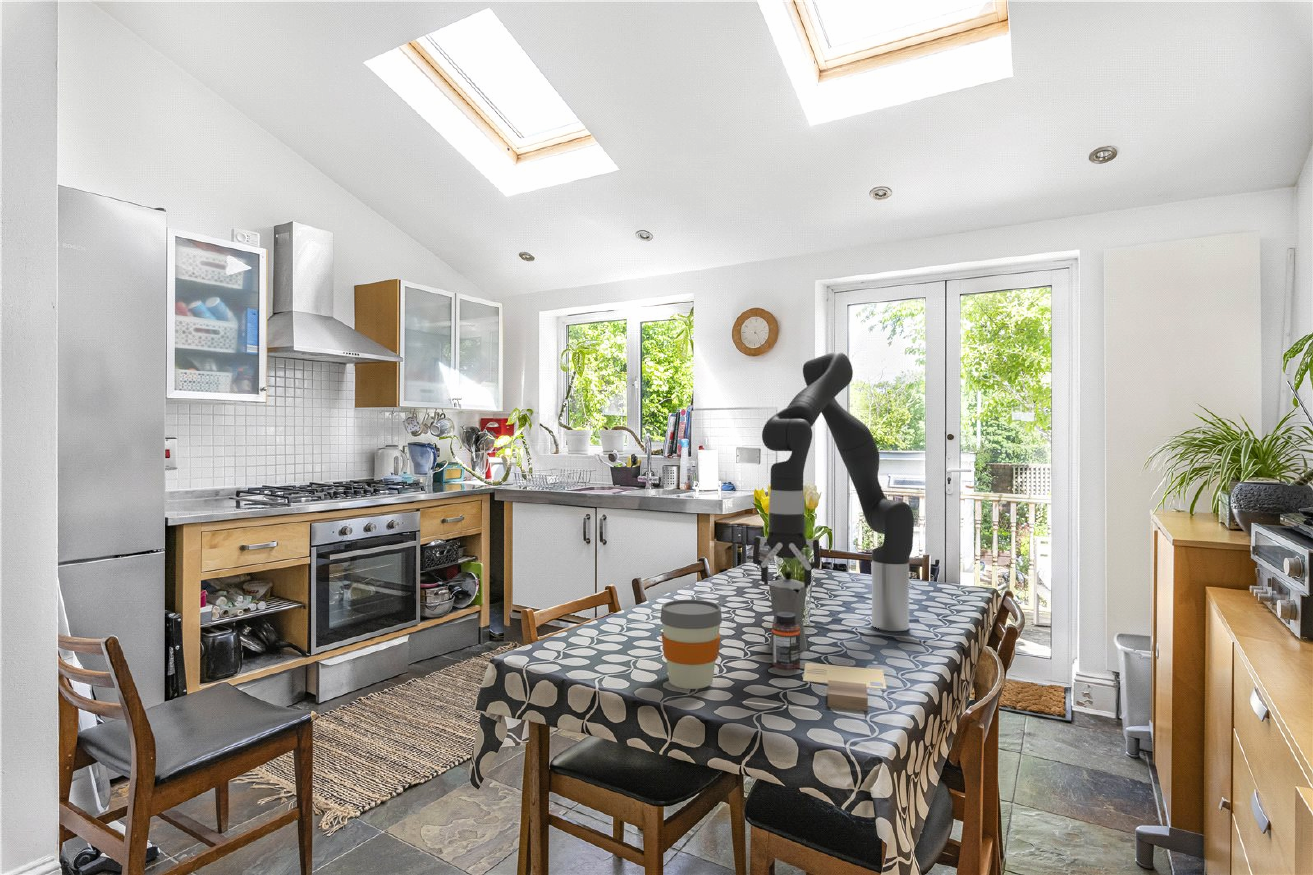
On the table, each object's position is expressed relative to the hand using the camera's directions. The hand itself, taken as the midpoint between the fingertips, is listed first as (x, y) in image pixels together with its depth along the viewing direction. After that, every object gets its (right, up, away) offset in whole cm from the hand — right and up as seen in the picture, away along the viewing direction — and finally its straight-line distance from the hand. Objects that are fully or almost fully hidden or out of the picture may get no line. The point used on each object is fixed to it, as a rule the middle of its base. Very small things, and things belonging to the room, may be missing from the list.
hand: (786, 585), depth 142 cm
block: (+8, -18, -20) cm, 28 cm away
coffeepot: (+3, -18, +14) cm, 23 cm away
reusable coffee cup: (-21, -18, -9) cm, 29 cm away
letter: (+11, -17, -6) cm, 21 cm away
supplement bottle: (0, -18, 0) cm, 18 cm away
